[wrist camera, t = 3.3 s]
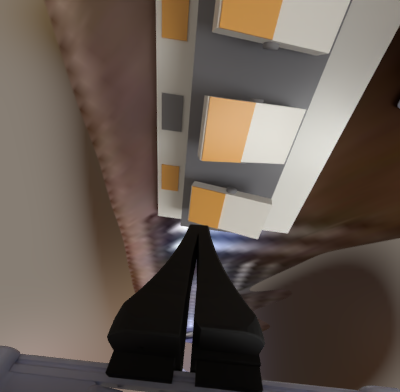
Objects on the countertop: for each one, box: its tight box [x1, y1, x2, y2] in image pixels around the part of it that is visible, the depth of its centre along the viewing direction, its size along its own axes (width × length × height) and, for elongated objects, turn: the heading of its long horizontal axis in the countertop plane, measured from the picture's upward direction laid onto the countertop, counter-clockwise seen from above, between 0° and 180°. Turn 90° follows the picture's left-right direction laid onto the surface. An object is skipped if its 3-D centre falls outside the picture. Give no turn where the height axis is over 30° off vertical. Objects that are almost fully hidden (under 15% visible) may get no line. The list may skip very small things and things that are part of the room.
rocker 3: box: [188, 181, 272, 239], centre depth 16 cm, size 7×4×1 cm, turn 82°
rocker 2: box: [198, 95, 306, 164], centre depth 12 cm, size 7×4×1 cm, turn 84°
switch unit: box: [156, 0, 400, 233], centre depth 16 cm, size 18×26×4 cm
